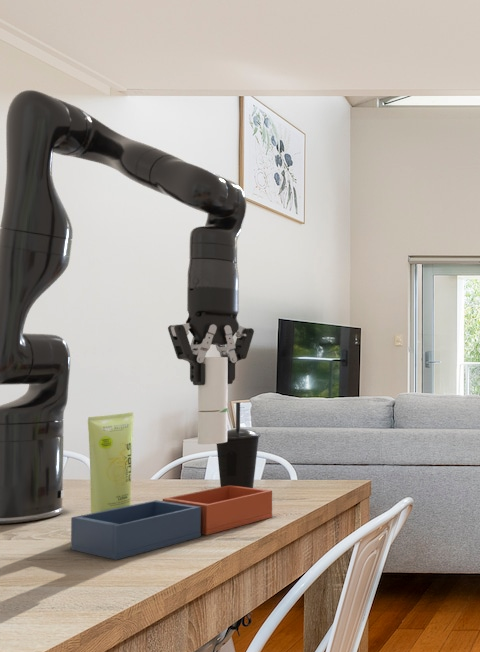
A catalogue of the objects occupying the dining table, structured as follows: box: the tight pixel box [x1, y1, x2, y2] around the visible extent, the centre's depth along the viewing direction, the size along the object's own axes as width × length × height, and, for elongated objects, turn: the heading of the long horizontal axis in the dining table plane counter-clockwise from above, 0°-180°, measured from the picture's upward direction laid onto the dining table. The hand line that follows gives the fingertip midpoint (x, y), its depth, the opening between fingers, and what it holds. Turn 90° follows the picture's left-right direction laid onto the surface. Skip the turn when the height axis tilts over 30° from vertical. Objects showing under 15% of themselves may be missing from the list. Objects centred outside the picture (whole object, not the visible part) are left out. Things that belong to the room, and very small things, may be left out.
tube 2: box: [197, 356, 229, 445], centre depth 101 cm, size 4×4×15 cm
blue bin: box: [70, 499, 202, 560], centre depth 89 cm, size 12×12×5 cm
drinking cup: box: [216, 402, 261, 488], centre depth 113 cm, size 8×8×20 cm
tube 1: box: [87, 411, 134, 514], centre depth 94 cm, size 6×5×20 cm
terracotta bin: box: [162, 485, 273, 536], centre depth 101 cm, size 12×12×5 cm
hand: (213, 384), depth 101 cm, fingers closed on tube 2, 4 cm apart
